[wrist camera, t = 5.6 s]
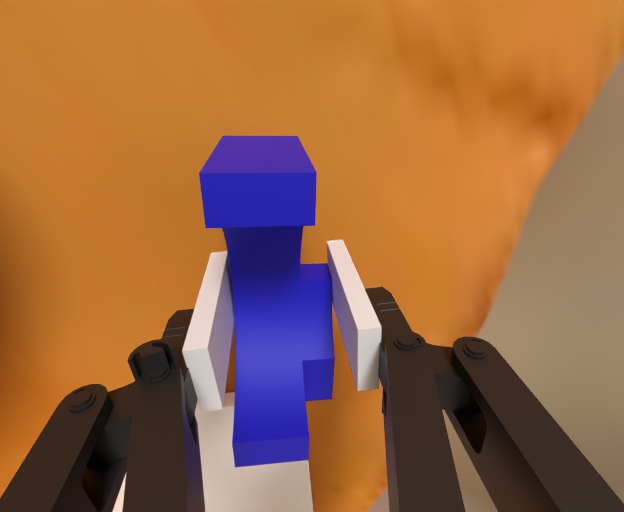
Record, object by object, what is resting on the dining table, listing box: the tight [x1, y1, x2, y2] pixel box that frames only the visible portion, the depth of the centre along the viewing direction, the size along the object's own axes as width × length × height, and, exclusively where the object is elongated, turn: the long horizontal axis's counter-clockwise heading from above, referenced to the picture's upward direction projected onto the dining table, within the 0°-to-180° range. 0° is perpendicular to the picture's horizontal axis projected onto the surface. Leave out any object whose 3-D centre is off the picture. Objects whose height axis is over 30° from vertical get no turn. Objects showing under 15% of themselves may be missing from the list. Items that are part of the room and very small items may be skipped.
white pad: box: [113, 392, 313, 512], centre depth 28 cm, size 16×16×1 cm
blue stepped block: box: [199, 136, 335, 467], centre depth 15 cm, size 12×4×6 cm, turn 179°
